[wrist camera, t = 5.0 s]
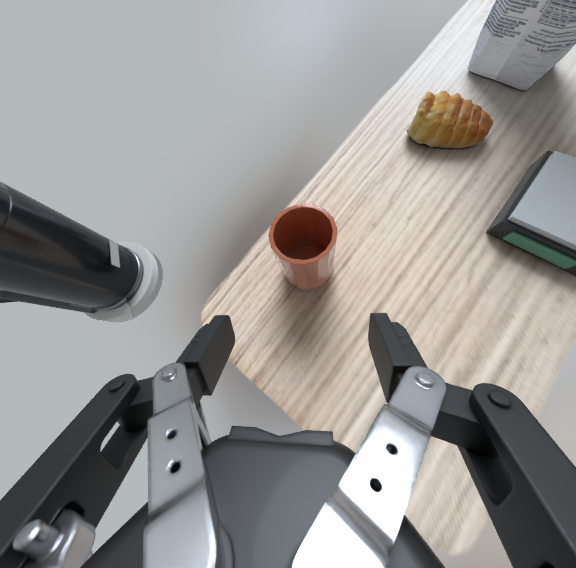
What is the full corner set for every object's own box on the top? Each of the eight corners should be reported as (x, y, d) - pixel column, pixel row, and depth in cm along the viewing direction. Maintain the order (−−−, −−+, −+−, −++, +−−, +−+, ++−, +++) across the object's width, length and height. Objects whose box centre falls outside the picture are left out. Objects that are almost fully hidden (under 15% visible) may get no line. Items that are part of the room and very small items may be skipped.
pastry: (488, 121, 29) (511, 89, 25) (475, 160, 28) (498, 131, 24) (415, 109, 31) (427, 78, 28) (400, 144, 30) (411, 116, 27)
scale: (575, 279, 22) (609, 269, 19) (483, 235, 25) (503, 221, 22) (620, 200, 24) (658, 180, 21) (530, 166, 26) (553, 145, 24)
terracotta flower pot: (302, 299, 26) (294, 277, 18) (274, 262, 28) (256, 228, 20) (342, 270, 26) (351, 236, 18) (312, 235, 28) (309, 192, 20)
